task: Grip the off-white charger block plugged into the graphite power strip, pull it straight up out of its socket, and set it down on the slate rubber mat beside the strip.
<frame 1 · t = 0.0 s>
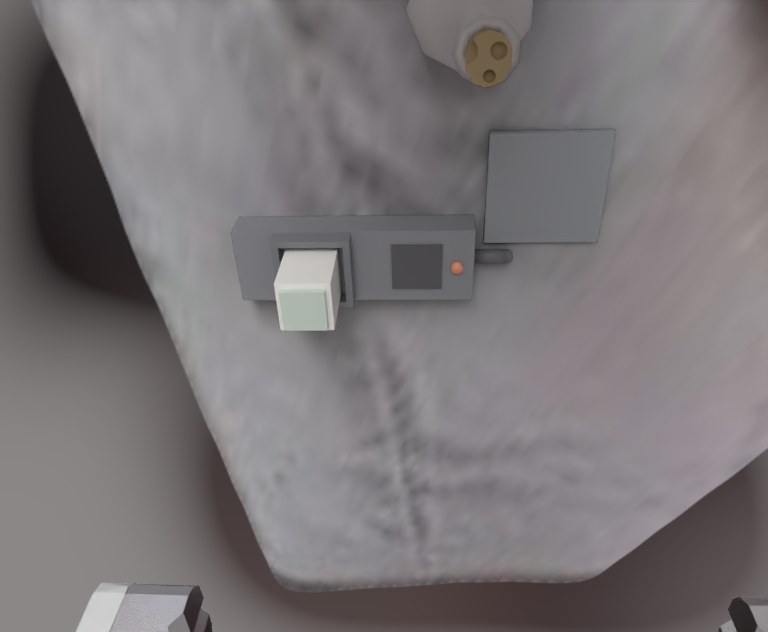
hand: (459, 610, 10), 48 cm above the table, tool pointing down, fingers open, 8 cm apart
charger: (315, 267, 59), point 3 cm above the table, touching power strip
mat: (545, 187, 57), on the table
power strip: (357, 250, 62), on the table
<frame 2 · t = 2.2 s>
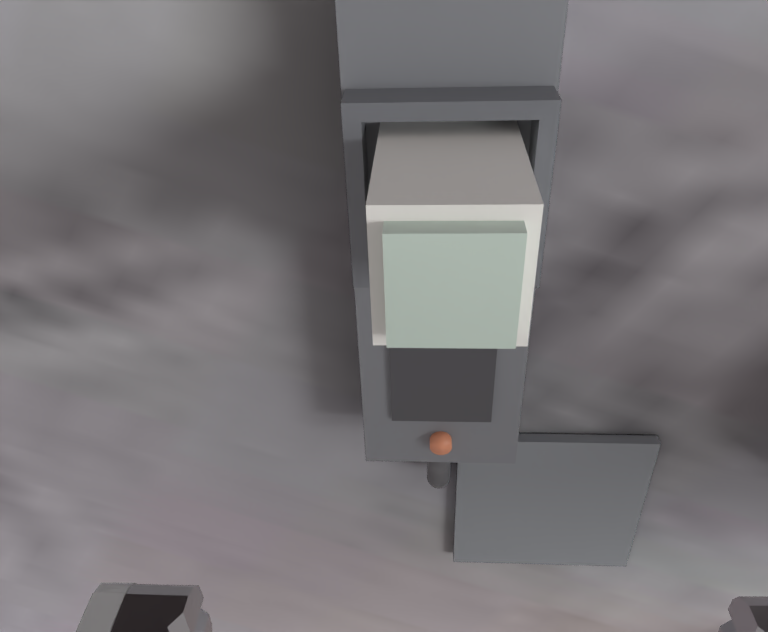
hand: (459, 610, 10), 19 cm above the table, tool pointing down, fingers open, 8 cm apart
charger: (446, 184, 24), point 3 cm above the table, touching power strip
mat: (546, 499, 37), on the table
power strip: (443, 233, 28), on the table
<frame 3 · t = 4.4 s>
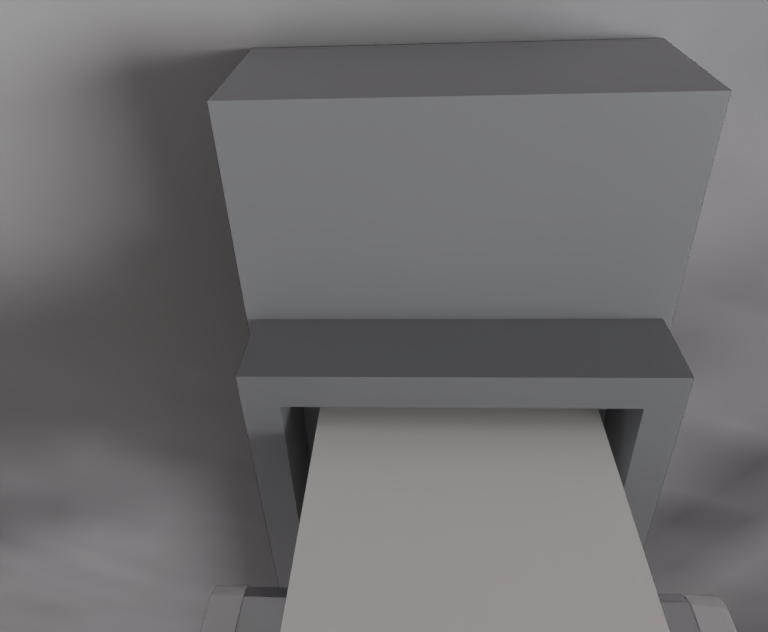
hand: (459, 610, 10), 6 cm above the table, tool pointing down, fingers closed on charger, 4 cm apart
charger: (451, 460, 13), point 3 cm above the table, touching gripper, power strip
power strip: (443, 468, 17), on the table
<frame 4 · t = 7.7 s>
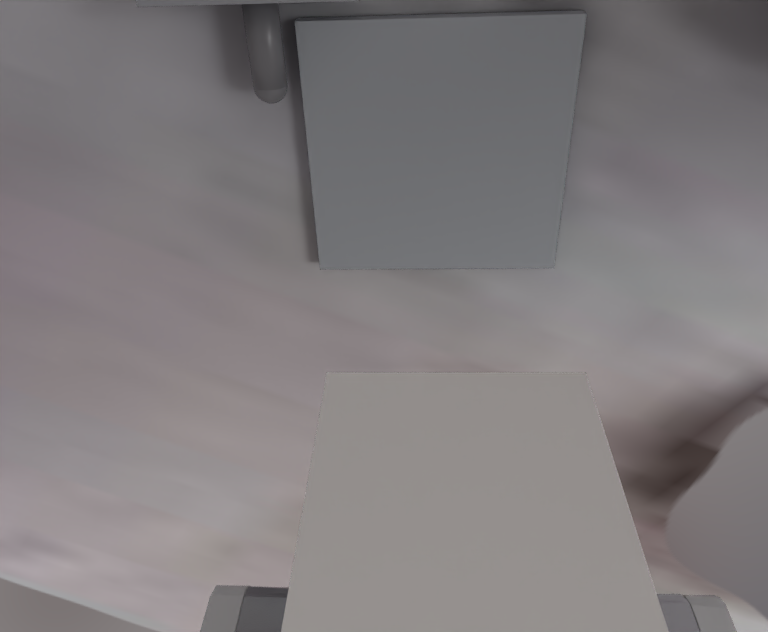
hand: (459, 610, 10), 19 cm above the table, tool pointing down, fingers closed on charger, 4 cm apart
charger: (451, 462, 13), point 16 cm above the table, touching gripper
mat: (436, 151, 26), on the table
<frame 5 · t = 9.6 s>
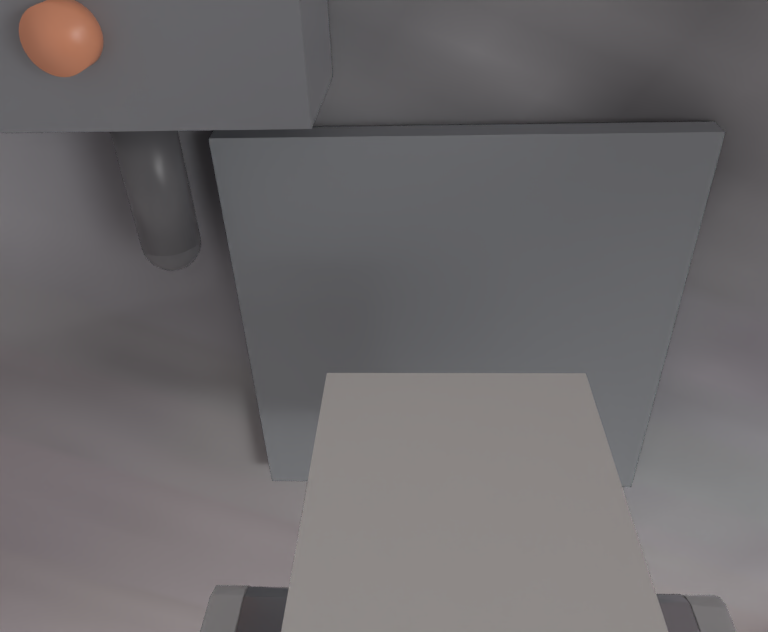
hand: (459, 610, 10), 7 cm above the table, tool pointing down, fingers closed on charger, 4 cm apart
charger: (451, 463, 13), point 4 cm above the table, touching gripper
mat: (452, 326, 16), on the table
when the fingers open (5 cm above the table, at t = 11.1 s): charger stays where it is, resting on mat.
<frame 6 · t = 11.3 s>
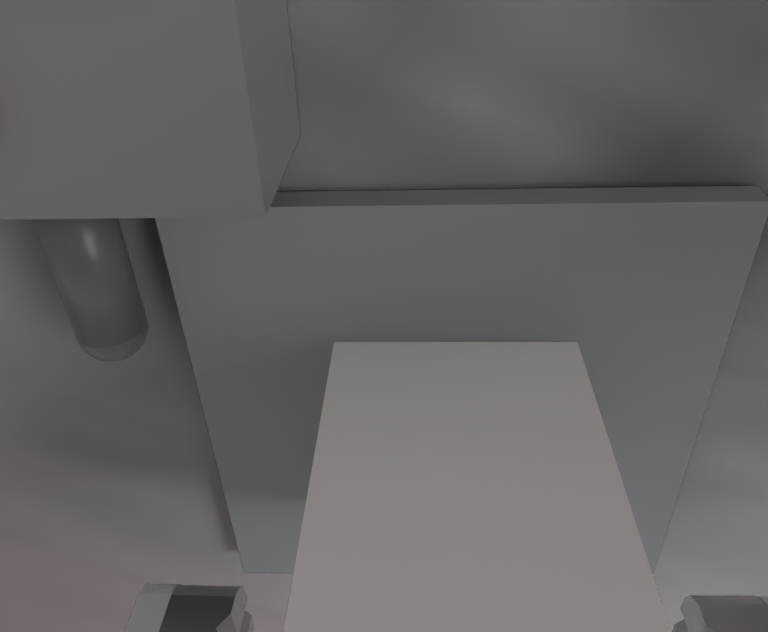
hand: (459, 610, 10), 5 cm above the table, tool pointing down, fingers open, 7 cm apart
charger: (451, 430, 14), point 1 cm above the table, touching mat
mat: (447, 409, 14), on the table
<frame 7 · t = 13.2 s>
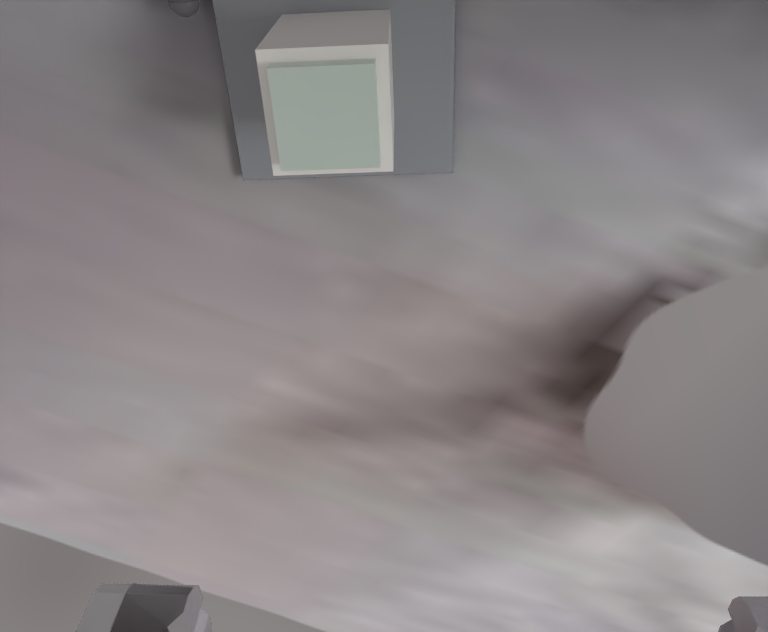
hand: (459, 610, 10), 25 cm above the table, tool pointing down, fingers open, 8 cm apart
charger: (340, 67, 29), point 1 cm above the table, touching mat
mat: (339, 63, 30), on the table
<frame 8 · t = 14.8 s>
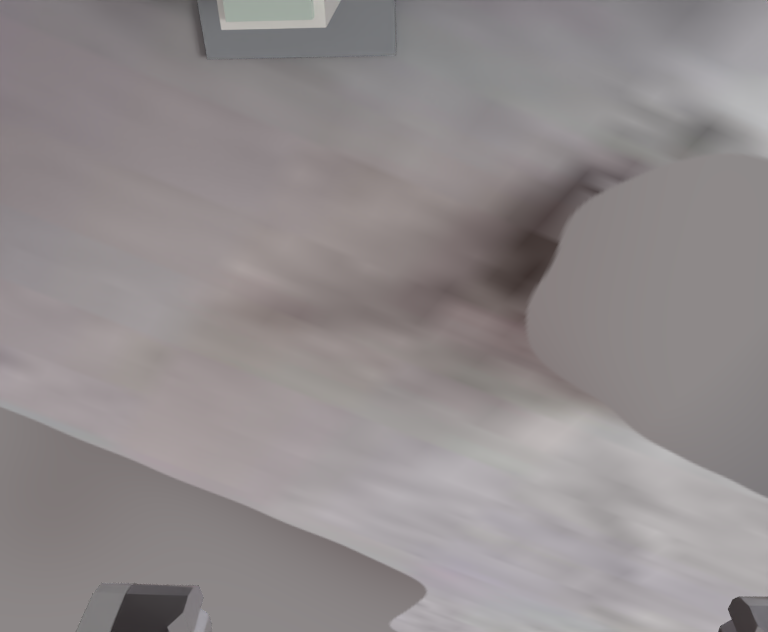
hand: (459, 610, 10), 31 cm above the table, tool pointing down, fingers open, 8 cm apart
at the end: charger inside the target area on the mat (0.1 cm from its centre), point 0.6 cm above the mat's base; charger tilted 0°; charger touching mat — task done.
